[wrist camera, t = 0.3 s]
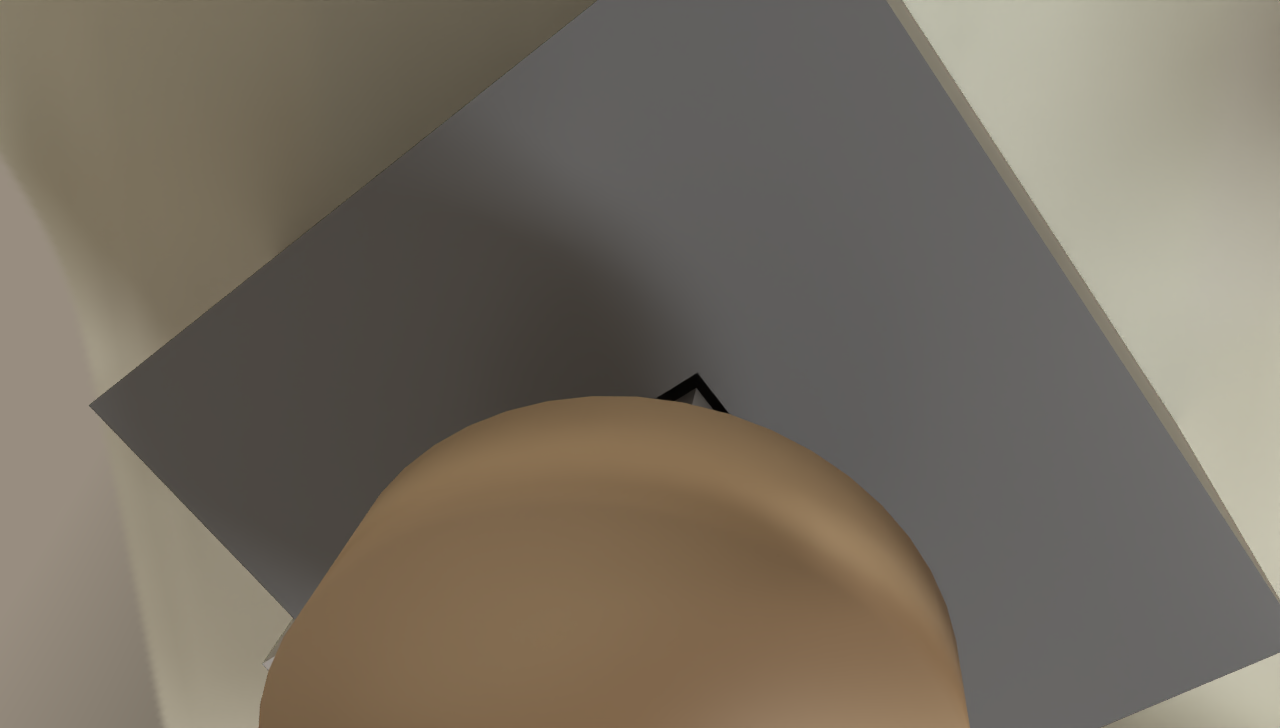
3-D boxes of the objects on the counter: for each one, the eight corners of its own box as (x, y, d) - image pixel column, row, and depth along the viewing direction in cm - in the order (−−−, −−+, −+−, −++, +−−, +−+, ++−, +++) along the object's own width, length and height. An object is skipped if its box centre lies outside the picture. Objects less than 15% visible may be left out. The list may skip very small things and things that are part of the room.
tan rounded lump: (1026, 560, 16) (1127, 925, 11) (633, 751, 19) (554, 1125, 13) (736, 157, 14) (681, 352, 9) (344, 428, 17) (118, 709, 11)
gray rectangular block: (1177, 424, 21) (1304, 641, 15) (580, 727, 26) (511, 973, 20) (800, -158, 18) (787, -152, 12) (207, 314, 23) (6, 470, 17)
